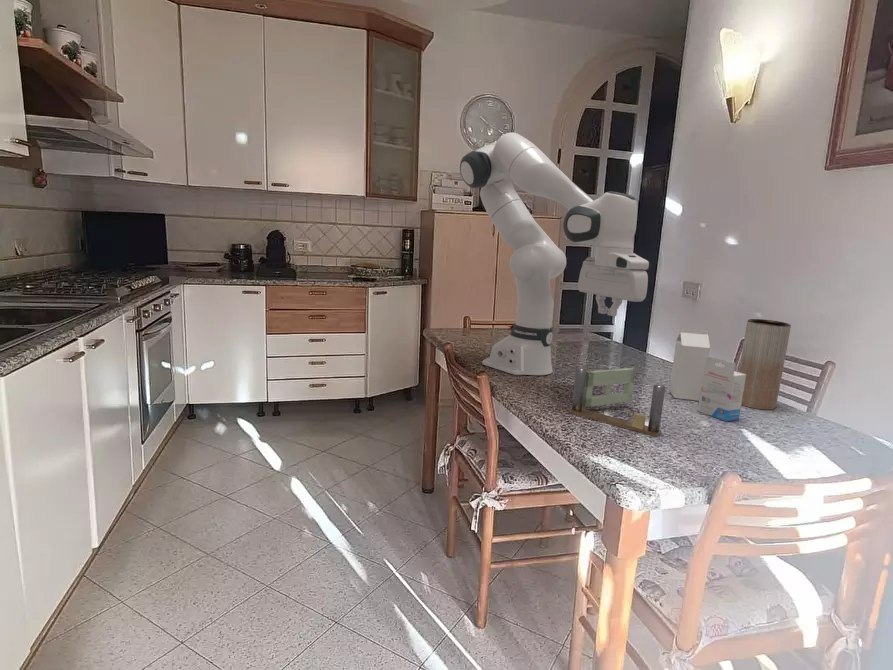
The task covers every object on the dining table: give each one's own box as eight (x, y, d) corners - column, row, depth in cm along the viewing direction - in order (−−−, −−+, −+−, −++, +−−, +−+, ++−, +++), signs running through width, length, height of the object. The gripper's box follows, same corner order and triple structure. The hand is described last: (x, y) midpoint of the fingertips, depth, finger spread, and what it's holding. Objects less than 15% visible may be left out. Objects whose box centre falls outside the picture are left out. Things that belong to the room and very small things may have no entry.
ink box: (739, 420, 133) (749, 362, 131) (726, 422, 131) (736, 363, 128) (710, 409, 141) (718, 354, 138) (696, 411, 139) (705, 355, 136)
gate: (585, 406, 132) (589, 372, 130) (581, 404, 133) (585, 371, 131) (631, 401, 138) (635, 369, 137) (627, 399, 140) (631, 367, 138)
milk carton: (701, 401, 147) (712, 333, 143) (674, 398, 148) (683, 330, 145) (695, 394, 154) (705, 328, 150) (668, 391, 155) (678, 326, 152)
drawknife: (568, 412, 131) (573, 368, 129) (574, 409, 134) (579, 366, 132) (656, 436, 119) (663, 388, 117) (661, 433, 121) (667, 385, 119)
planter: (784, 410, 143) (800, 326, 139) (748, 409, 142) (763, 324, 138) (760, 399, 153) (774, 319, 149) (726, 397, 152) (739, 318, 148)
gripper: (575, 256, 141) (569, 308, 144) (635, 262, 124) (628, 321, 127) (593, 256, 144) (587, 307, 147) (654, 263, 127) (647, 321, 130)
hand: (607, 314), depth 137 cm, fingers closed
